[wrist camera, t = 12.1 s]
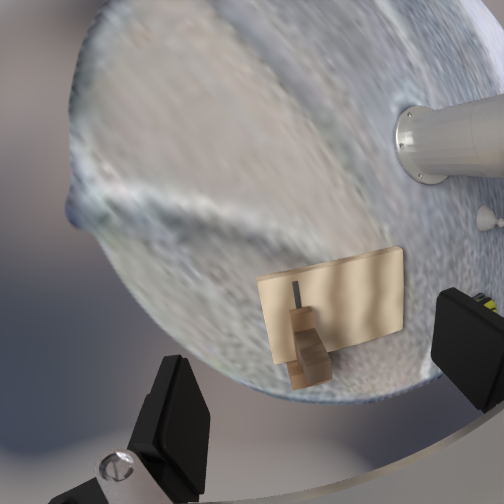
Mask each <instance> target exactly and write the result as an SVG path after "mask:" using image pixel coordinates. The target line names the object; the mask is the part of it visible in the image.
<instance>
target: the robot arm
mask: <svg viewBox="0 0 504 504" xmlns="http://www.w3.org/2000/svg"><path fill="white" fill-rule="evenodd" d="M399 145H400V146H399ZM394 146H395V151H396V154H397V157H398V159H399V161H400V164H401V165H402V167H403V168H404V170H405V171H406V172H407V173H408V174H409V176H411V177H412V178H413V179H414V180H416V181H418V182H420V183H424V184H438V183H440V182H442V181H443V180H445V179H446V178H447V177H448V176H449V175H458V176H475V177H488V178H499V179H504V94H501V95H497V96H493V97H488V98H484V99H479V100H475V101H471V102H467V103H463V104H459V105H455V106H451V107H447V108H443V109H439V110H436V111H434V110H433V109H431V108H428V107H426V106H414V107H411V108H408V109H407V110H405V111H404V112H403V113H402V114H401V115H400V116H399V118H398V119H397V122H396V124H395V129H394ZM431 358H432V361H433V362H434V363H435V364H436V365H437V366H438V367H439V368H440V369H441V370H442V371H443V372H444V373H445V375H446V376H448V377H449V379H450V380H451V381H452V382H453V383H454V384H455V385H456V386H457V387H458V389H459V390H460V391H461V392H462V393H463V394H464V395H465V396H466V397H467V399H468V400H469V401H470V402H471V403H472V404H473V405H474V406H475V407H476V408H477V409H478V410H481V411H482V412H483V413H484V415H482V416H481V417H479V418H478V419H476V420H475V421H473V422H472V423H470V424H468V425H467V426H466V427H464V428H462V429H460V430H459V431H457V432H455V433H453V434H452V435H450V436H448V437H446V438H445V439H443V440H441V441H439V442H437V443H435V444H433V445H431V446H429V447H427V448H425V449H423V450H421V451H419V452H417V453H415V454H413V455H410V456H408V457H406V458H404V459H401V460H399V461H397V462H394V463H392V464H389V465H387V466H384V467H382V468H379V469H376V470H374V471H371V472H368V473H365V474H362V475H359V476H356V477H353V478H350V479H347V480H343V481H340V482H336V483H332V484H329V485H325V486H321V487H317V488H313V489H308V490H304V491H299V492H294V493H289V494H283V495H277V496H270V497H264V498H256V499H247V500H237V501H225V502H209V503H188V502H199V494H204V491H205V479H206V466H207V453H208V442H209V441H208V440H209V431H210V413H209V410H208V407H207V405H206V403H205V401H204V398H203V396H202V393H201V391H200V389H199V386H198V384H197V381H196V379H195V376H194V374H193V371H192V369H191V366H190V364H189V361H188V359H187V358H182V356H181V355H172V356H165V357H164V358H163V360H162V363H161V365H160V368H159V371H158V373H157V376H156V378H155V381H154V384H153V386H152V389H151V392H150V394H148V395H147V396H146V398H145V400H144V403H143V406H142V408H141V411H140V414H139V416H138V419H137V422H136V425H135V427H134V430H133V433H132V436H131V439H130V441H129V444H128V447H127V449H114V450H111V451H108V452H107V453H105V454H103V455H102V456H101V457H100V458H99V459H98V461H97V463H96V465H95V476H96V477H95V478H93V479H91V480H89V481H87V482H85V483H83V484H81V485H79V486H77V487H75V488H73V489H71V490H69V491H67V492H65V493H63V494H60V495H58V496H56V497H55V498H53V499H52V500H51V501H50V502H49V503H48V504H504V318H503V317H502V316H500V315H498V314H497V313H495V312H494V311H492V310H491V309H489V308H487V307H486V306H484V305H483V304H481V303H479V302H478V301H476V300H474V299H473V298H471V297H469V296H468V295H466V294H464V293H463V292H461V291H459V290H458V289H456V288H454V287H452V288H449V289H446V290H444V291H441V292H440V294H439V296H438V298H437V302H436V314H435V324H434V333H433V340H432V348H431ZM496 404H498V405H497V406H496Z"/></svg>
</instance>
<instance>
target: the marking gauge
mask: <svg viewBox="0 0 504 504" xmlns="http://www.w3.org/2000/svg"><path fill="white" fill-rule="evenodd" d="M289 315H290V321H291V327H292V333H293V340H294V346H295V352H296V359H297V360H294V361H289V362H287V367H288V373H289V377H290V381H291V385H292V389H293V390H297V389H302V388H306V387H310V386H314V385H318V384H322V383H326V382H330V381H331V379H332V366H331V359H330V357H329V355H328V353H327V351H326V349H325V347H324V345H323V343H322V341H321V339H320V337H319V335H318V333H317V331H316V329H315V324H314V316H313V311H312V309H311V307H310V306H307V307H302V308H298V309H293V310H289Z"/></svg>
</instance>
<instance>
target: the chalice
mask: <svg viewBox="0 0 504 504" xmlns="http://www.w3.org/2000/svg"><path fill="white" fill-rule="evenodd" d="M476 223H477V227H478V229H479V230H480V231H481V232H484V231H487V230H491V229H492V228H493V227H494V226H495V224H497V225H499V227H500V228H502V227H503V226H504V220H503V218H500V219H496V216H495V214H494V212H493V211H492V210H491V209H490V208H489V207H487V206H486V205H483V206H481V207H480V209H479V210H478V213H477V218H476Z"/></svg>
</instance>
